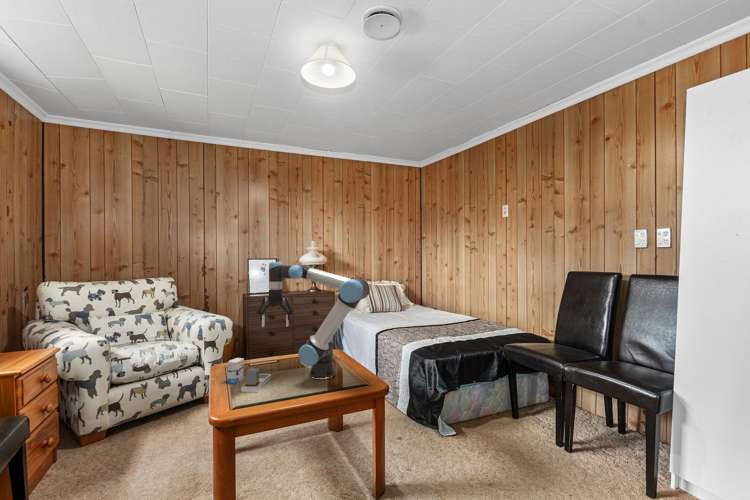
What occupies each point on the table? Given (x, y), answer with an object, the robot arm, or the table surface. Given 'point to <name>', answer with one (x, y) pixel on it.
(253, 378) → the grey rectangular block
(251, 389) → the white piece
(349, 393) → the table surface
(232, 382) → the ink box
